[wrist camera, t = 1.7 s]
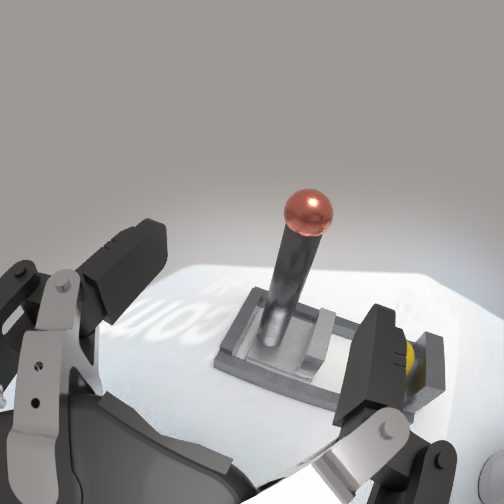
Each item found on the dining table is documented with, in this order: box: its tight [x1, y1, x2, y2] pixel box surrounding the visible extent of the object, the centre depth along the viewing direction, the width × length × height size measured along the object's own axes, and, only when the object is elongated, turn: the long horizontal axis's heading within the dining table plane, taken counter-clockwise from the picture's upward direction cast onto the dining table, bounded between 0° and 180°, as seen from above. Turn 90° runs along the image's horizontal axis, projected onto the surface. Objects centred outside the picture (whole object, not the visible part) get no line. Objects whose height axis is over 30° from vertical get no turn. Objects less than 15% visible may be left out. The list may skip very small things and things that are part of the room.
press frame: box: [214, 286, 445, 425], centre depth 31 cm, size 26×13×7 cm, turn 68°
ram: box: [246, 189, 336, 384], centre depth 28 cm, size 8×8×21 cm
